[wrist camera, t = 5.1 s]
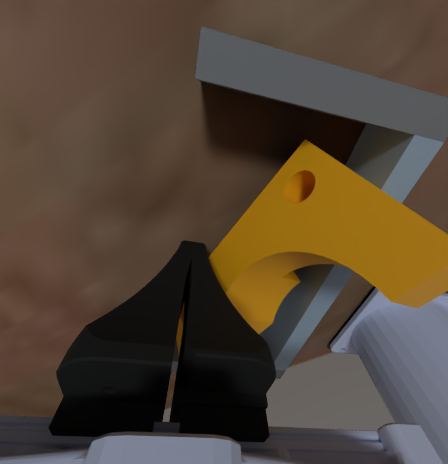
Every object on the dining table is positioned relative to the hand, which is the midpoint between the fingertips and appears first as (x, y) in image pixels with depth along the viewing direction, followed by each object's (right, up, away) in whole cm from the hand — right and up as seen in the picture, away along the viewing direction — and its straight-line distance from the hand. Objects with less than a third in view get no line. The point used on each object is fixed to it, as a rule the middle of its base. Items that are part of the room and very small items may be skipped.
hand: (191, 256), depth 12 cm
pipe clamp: (+3, +1, +1) cm, 3 cm away
